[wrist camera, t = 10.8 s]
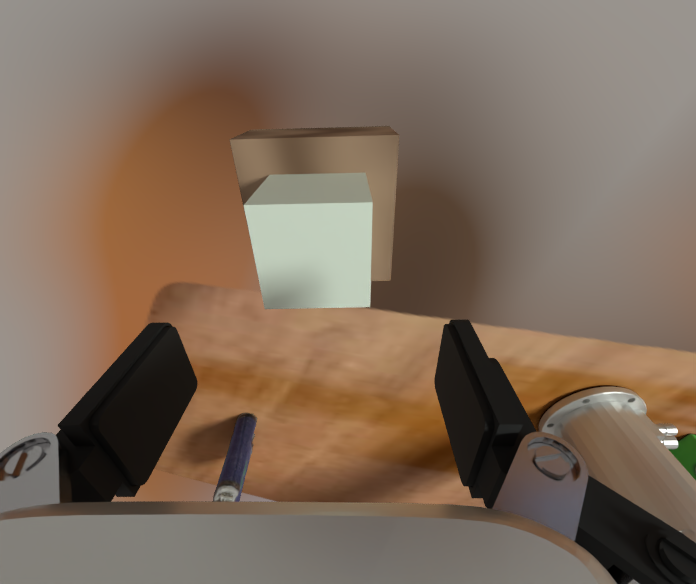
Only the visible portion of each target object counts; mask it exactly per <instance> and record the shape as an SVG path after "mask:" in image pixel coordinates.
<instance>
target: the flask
mask: <svg viewBox="0 0 696 584" xmlns="http://www.w3.org/2000/svg"><path fill="white" fill-rule="evenodd" d="M256 422H257V418H256V417H255V416H254V414H250V413H242V414H241V415H239V417H238V418H237V421H236V423H235V427H234V433H233V436H232V439H231V442H230V446H229V449H228V453H227V456H226V459H225V462H224V465H223V468H222V472H221V474H220V478H219V481H218V484H217V487H216V490H215V493H214V497H213V502H239V500H240V496H241V492H242V488H243V484H244V480H245V475H246V472H247V468H248V464H249V460H250V456H251V453H252V448H253V445H252V442H253V439H254V437H255V436H254V435H255V434H254V430H255V426H256Z"/></svg>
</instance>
